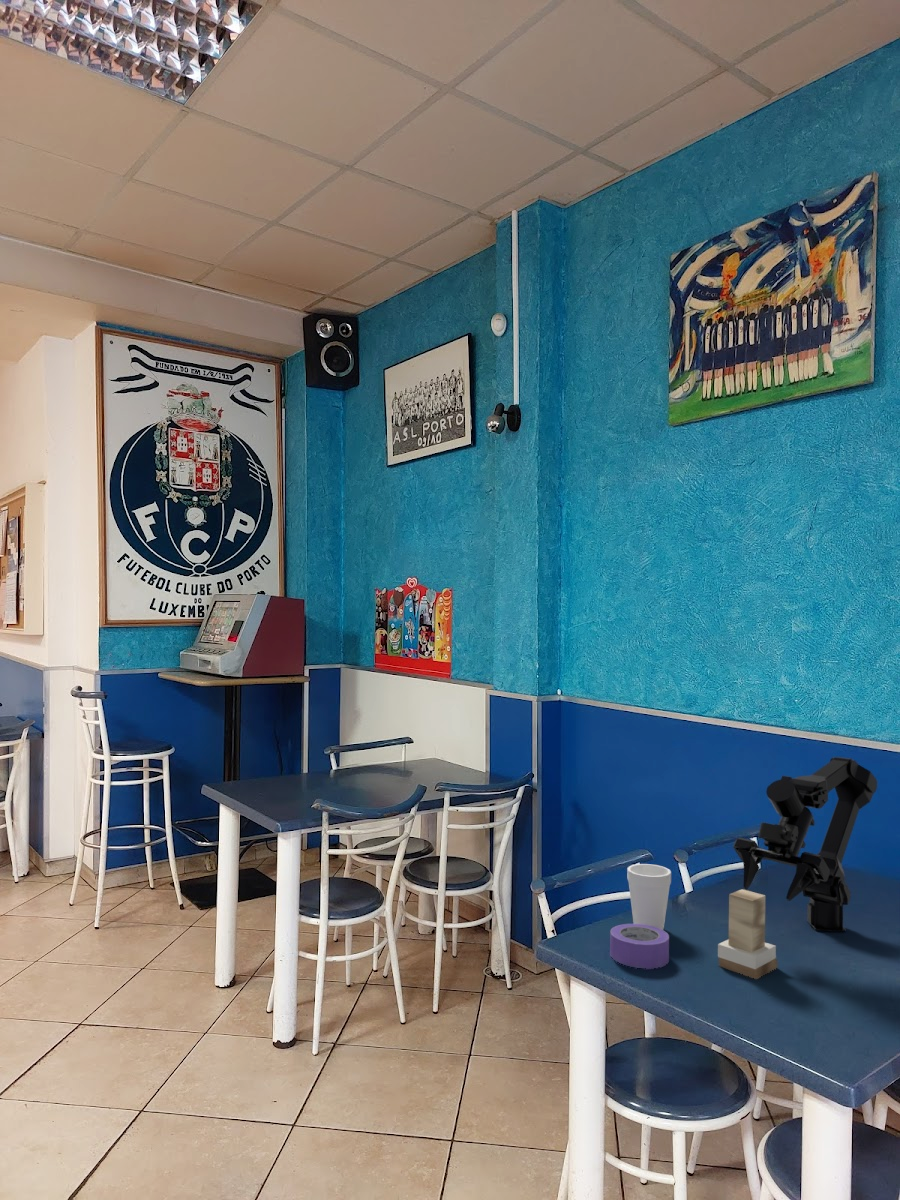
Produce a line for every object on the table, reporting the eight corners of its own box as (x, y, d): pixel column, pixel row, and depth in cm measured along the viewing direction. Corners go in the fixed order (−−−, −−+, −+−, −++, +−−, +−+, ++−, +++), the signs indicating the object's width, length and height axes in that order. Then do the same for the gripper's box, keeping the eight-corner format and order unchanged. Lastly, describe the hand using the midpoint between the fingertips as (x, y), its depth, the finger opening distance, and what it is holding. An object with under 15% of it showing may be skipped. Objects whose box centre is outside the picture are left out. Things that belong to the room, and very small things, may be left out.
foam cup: (672, 924, 194) (672, 866, 194) (668, 939, 185) (669, 878, 185) (629, 919, 197) (630, 862, 197) (624, 933, 188) (624, 873, 188)
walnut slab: (740, 959, 177) (740, 946, 177) (777, 971, 171) (777, 958, 171) (719, 969, 171) (719, 956, 172) (756, 982, 165) (756, 969, 165)
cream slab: (738, 946, 177) (738, 934, 177) (775, 958, 171) (775, 945, 171) (717, 956, 172) (717, 944, 172) (755, 969, 166) (755, 956, 166)
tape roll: (631, 942, 184) (631, 918, 184) (680, 958, 176) (680, 933, 176) (598, 957, 176) (598, 932, 176) (648, 975, 167) (648, 949, 167)
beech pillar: (741, 938, 174) (742, 889, 175) (764, 946, 171) (765, 895, 171) (728, 944, 171) (729, 894, 171) (751, 952, 167) (752, 900, 167)
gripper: (737, 799, 186) (709, 861, 178) (823, 815, 172) (797, 883, 164) (755, 830, 191) (729, 891, 184) (840, 847, 177) (816, 914, 170)
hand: (765, 893), depth 175 cm, fingers open, 9 cm apart
